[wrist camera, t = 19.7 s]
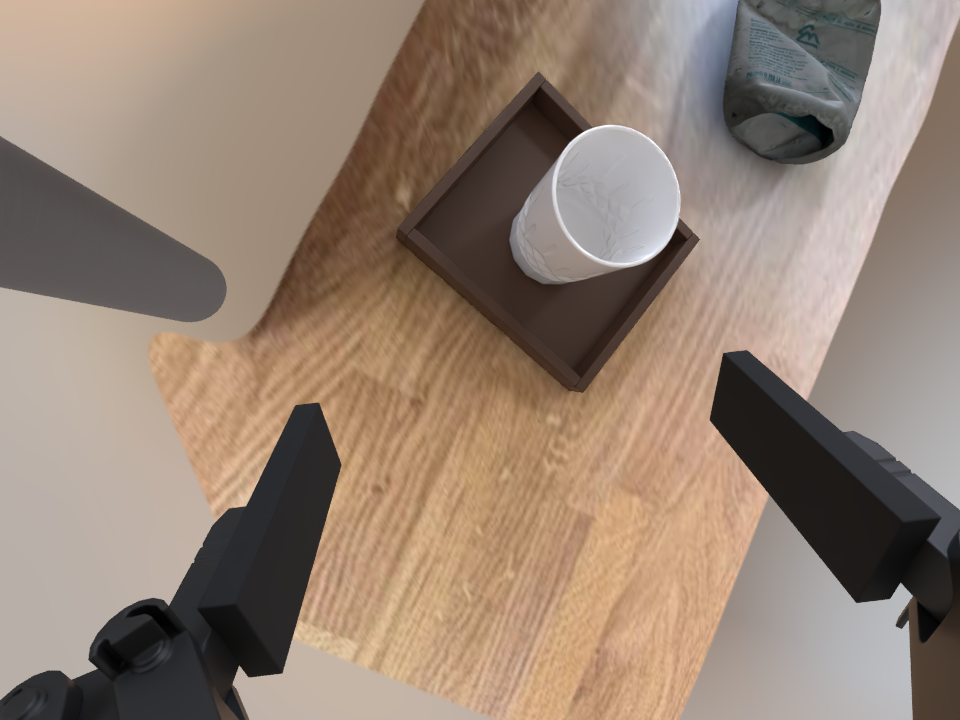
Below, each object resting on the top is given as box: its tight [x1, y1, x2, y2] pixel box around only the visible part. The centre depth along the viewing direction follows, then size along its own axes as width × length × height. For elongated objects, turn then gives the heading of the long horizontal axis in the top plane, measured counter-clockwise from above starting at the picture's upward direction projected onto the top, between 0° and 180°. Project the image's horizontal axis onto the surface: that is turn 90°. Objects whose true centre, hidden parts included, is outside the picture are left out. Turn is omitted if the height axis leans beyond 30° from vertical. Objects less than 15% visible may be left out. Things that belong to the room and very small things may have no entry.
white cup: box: [509, 125, 680, 284], centre depth 30 cm, size 8×8×10 cm
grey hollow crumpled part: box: [723, 0, 881, 164], centre depth 37 cm, size 13×7×25 cm
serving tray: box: [396, 72, 700, 393], centre depth 34 cm, size 18×16×2 cm
